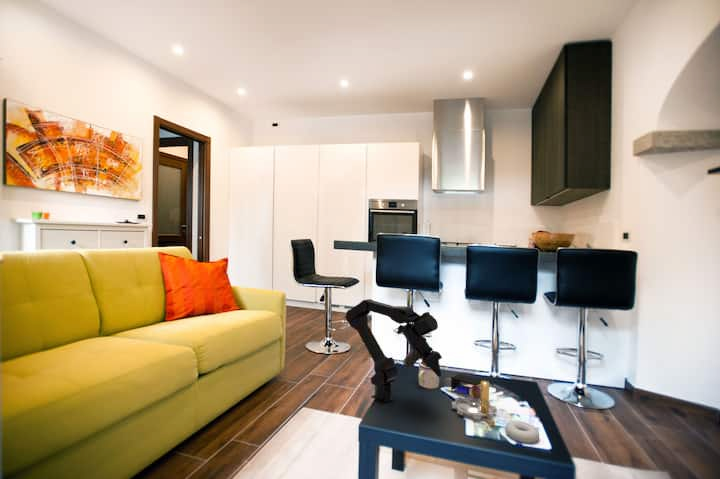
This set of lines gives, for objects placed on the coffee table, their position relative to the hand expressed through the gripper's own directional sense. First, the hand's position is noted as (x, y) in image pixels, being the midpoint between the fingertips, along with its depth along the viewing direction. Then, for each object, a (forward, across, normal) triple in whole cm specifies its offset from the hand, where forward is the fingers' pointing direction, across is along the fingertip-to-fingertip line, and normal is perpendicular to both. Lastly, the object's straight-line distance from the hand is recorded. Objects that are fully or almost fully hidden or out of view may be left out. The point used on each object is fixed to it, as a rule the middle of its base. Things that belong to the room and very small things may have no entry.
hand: (439, 376), depth 131 cm
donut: (+26, +13, +10) cm, 31 cm away
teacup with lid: (+8, -27, -4) cm, 29 cm away
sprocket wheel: (+17, -3, +4) cm, 18 cm away
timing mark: (+21, +5, +5) cm, 22 cm away
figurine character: (+17, -19, +6) cm, 26 cm away
